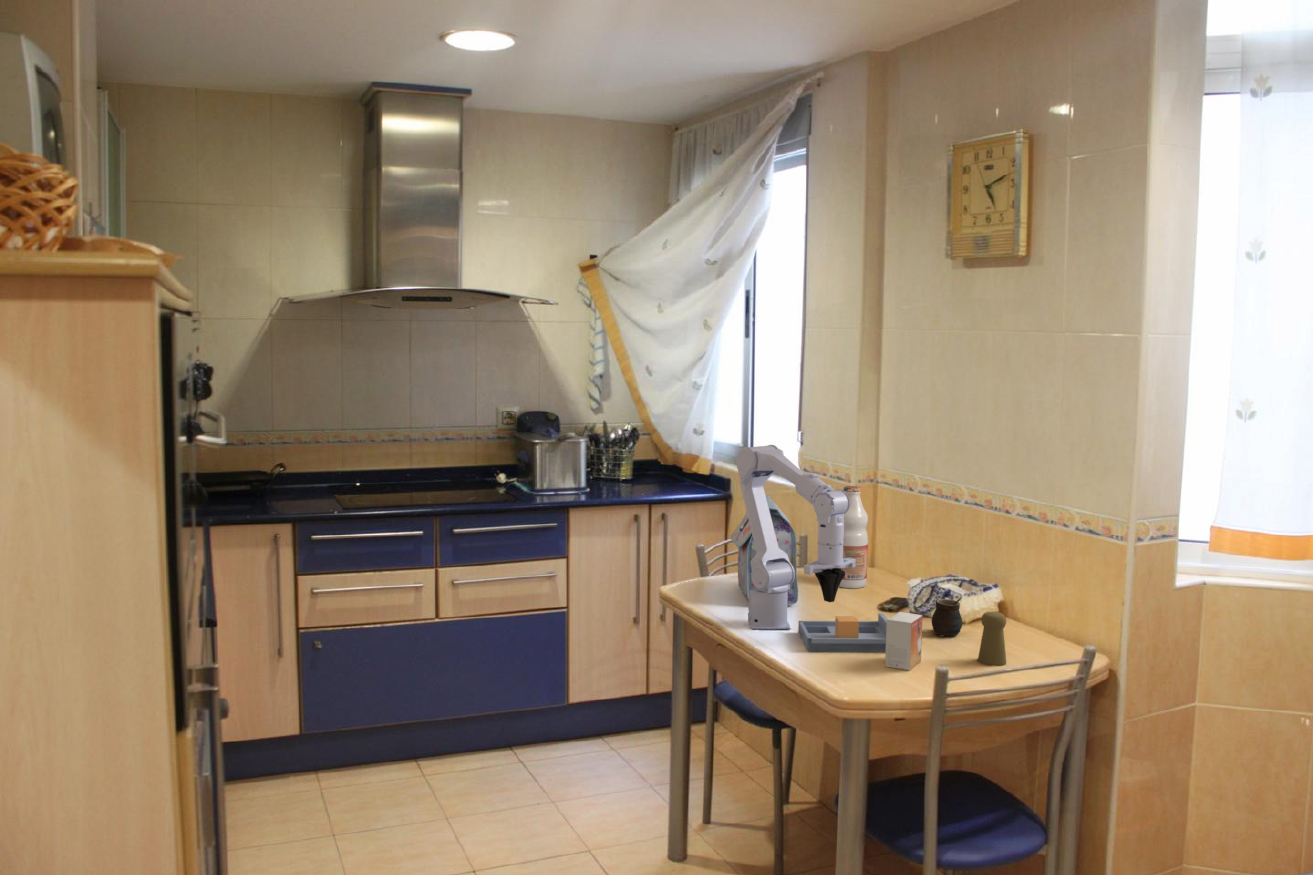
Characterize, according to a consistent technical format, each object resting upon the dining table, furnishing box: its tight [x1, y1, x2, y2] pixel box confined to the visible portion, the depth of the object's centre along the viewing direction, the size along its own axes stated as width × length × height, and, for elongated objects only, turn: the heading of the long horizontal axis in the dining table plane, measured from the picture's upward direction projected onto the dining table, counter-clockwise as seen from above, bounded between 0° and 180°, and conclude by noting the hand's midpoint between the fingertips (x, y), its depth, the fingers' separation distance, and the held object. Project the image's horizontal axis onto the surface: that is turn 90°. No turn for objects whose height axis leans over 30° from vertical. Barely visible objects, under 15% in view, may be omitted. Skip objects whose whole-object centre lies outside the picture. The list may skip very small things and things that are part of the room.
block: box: [834, 615, 860, 638], centre depth 249 cm, size 4×4×4 cm
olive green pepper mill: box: [977, 611, 1007, 667], centre depth 238 cm, size 6×6×11 cm
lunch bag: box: [730, 494, 799, 606], centre depth 293 cm, size 22×17×26 cm
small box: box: [884, 611, 924, 671], centre depth 236 cm, size 8×6×10 cm
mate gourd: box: [931, 596, 963, 638], centre depth 259 cm, size 7×8×10 cm
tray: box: [797, 612, 888, 653], centre depth 252 cm, size 20×15×5 cm
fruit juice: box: [838, 485, 869, 589], centre depth 307 cm, size 9×9×28 cm
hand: (829, 601), depth 251 cm, fingers closed
